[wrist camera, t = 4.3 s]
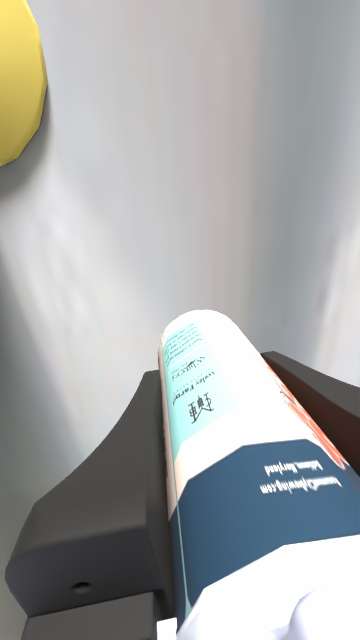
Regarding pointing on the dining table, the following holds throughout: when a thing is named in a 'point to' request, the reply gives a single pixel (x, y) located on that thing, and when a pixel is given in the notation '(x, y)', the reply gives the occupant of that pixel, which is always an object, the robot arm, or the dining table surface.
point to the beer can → (246, 486)
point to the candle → (19, 78)
